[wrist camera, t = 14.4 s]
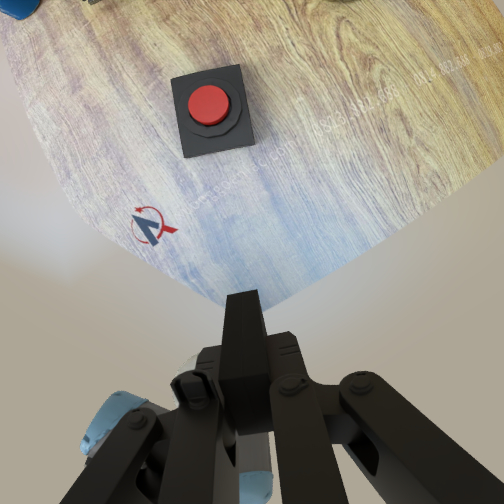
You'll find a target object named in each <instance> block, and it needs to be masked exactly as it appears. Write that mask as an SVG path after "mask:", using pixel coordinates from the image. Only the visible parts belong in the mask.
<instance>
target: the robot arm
mask: <svg viewBox="0 0 504 504" xmlns="http://www.w3.org/2000/svg"><path fill="white" fill-rule="evenodd" d="M170 385H171V388H172V390H173V392H174V394H175V396H176V398H177V400H178V402H179V406H178V408H177V409H175V410H172V411H170V410H167V409H165V408H162V407H160V406H158V405H156V404H154V403H151V402H149V400H148V399H143V398H140V397H138V396H135V395H133V394H130V393H128V392H126V391H117V392H115V393H113V394H112V395H111V396H110V397H109V398H108V399H107V400H106V401H105V403H104V404H103V405H102V407H101V408H100V410H99V411H98V412H97V414H96V416H95V417H94V419H93V420H92V422H91V424H90V425H89V427H88V429H87V431H86V434H85V436H84V438H83V439H82V441H81V444H80V450H81V451H82V452H83V454H84V455H88V458H87V460H86V463H85V465H84V467H85V469H84V470H83V471H82V473H81V474H80V476H79V477H78V478H77V480H76V481H75V483H74V484H73V485H72V487H71V488H70V489H69V491H68V492H67V494H66V495H65V496H64V498H63V499H62V501H61V502H60V503H59V504H266V503H267V502H268V501H269V499H270V498H271V496H272V487H273V485H272V484H273V474H272V467H271V456H270V446H269V435H268V432H271V431H274V436H275V445H276V453H277V462H278V470H279V478H280V487H281V495H282V503H283V504H349V503H348V499H347V495H346V492H345V488H344V485H343V482H342V478H341V474H340V471H339V468H338V464H337V461H336V458H335V454H334V451H333V448H332V444H342V446H343V447H344V449H345V450H346V451H347V453H348V454H349V455H350V457H351V458H352V459H353V461H354V462H355V463H356V465H357V466H358V467H359V469H360V470H361V471H362V473H363V474H364V475H365V477H366V478H367V479H368V480H369V482H370V483H371V484H372V486H373V487H374V488H375V489H376V491H377V492H378V493H379V495H380V496H381V497H382V498H383V500H384V501H385V502H386V504H504V483H503V482H501V481H500V480H499V479H498V478H497V477H495V476H494V475H493V474H492V473H491V472H490V471H489V470H487V469H486V468H485V467H484V466H483V465H482V464H480V463H479V462H478V461H477V460H475V458H473V457H472V456H471V455H470V454H468V452H466V451H465V450H464V449H463V448H462V447H460V446H459V445H458V444H457V443H456V442H455V441H454V440H452V439H451V438H450V437H449V436H448V435H447V434H445V433H444V432H443V431H442V430H441V429H440V428H438V427H437V426H436V425H435V424H434V423H433V422H432V421H430V420H429V419H428V418H427V417H426V416H425V415H424V414H422V413H421V412H420V411H419V410H418V409H417V408H416V407H414V406H413V405H412V404H411V403H410V402H409V401H407V400H406V399H405V398H404V397H403V396H402V395H401V394H400V393H398V392H397V391H396V390H395V389H394V388H393V387H392V386H390V385H389V384H388V383H387V382H386V381H385V380H384V379H383V378H381V377H380V376H378V375H377V374H375V373H373V372H368V371H358V372H354V373H351V374H349V375H347V376H346V377H344V378H343V379H342V381H341V382H340V384H339V385H322V384H319V383H316V382H314V381H313V380H312V379H310V377H309V376H308V373H307V370H306V367H305V364H304V361H303V357H302V354H301V351H300V348H299V345H298V342H297V338H296V336H294V335H293V334H292V333H290V332H289V331H288V332H283V333H278V334H274V335H269V336H267V332H266V328H265V323H264V318H263V314H262V309H261V304H260V300H259V295H258V291H257V289H256V290H251V291H246V292H241V293H236V294H231V295H227V300H226V309H225V318H224V328H223V336H222V345H218V346H213V347H206V348H203V349H202V351H201V352H200V353H199V354H198V356H197V360H196V365H195V369H193V370H189V371H185V372H183V373H181V374H179V375H178V376H176V377H175V378H174V379H173V380H172V382H171V384H170Z"/></svg>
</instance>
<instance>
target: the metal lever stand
mask: <svg viewBox="0 0 504 504" xmlns="http://www.w3.org/2000/svg"><path fill="white" fill-rule="evenodd" d="M99 1H101V0H88V3H89V4H90V5H92V4H94V3H97V2H99Z"/></svg>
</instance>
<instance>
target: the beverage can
mask: <svg viewBox="0 0 504 504" xmlns="http://www.w3.org/2000/svg"><path fill="white" fill-rule="evenodd" d="M39 2H40V0H0V11H1V12H3V13H5V14H7V15H9V16H11V17H13V18H15V19H17V20H22V19H24V18H26V17H28V16H29V15H31V14H32V13H33V12H34V11H35V9H36V8H37V6H38V4H39Z"/></svg>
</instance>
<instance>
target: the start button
mask: <svg viewBox="0 0 504 504" xmlns="http://www.w3.org/2000/svg"><path fill="white" fill-rule="evenodd" d="M188 108H189V112H190V114H191V115H192V116H193V117H194V118H195V119H196V120H197V121H198V122H200V123H202V124H205V125H213V124H217V123H219V122H220V121H222V120H223V119H224V118H225V117H226V115H227V113H228V111H229V101H228V98H227V95H226V94H225V92H224V91H223V90H222V89H220V88H219V87H216V86H212V85H207V86H202V87H200V88H198V89H197V90H195V91H194V92H193V93H192V95H191V96H190V98H189V102H188Z"/></svg>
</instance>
